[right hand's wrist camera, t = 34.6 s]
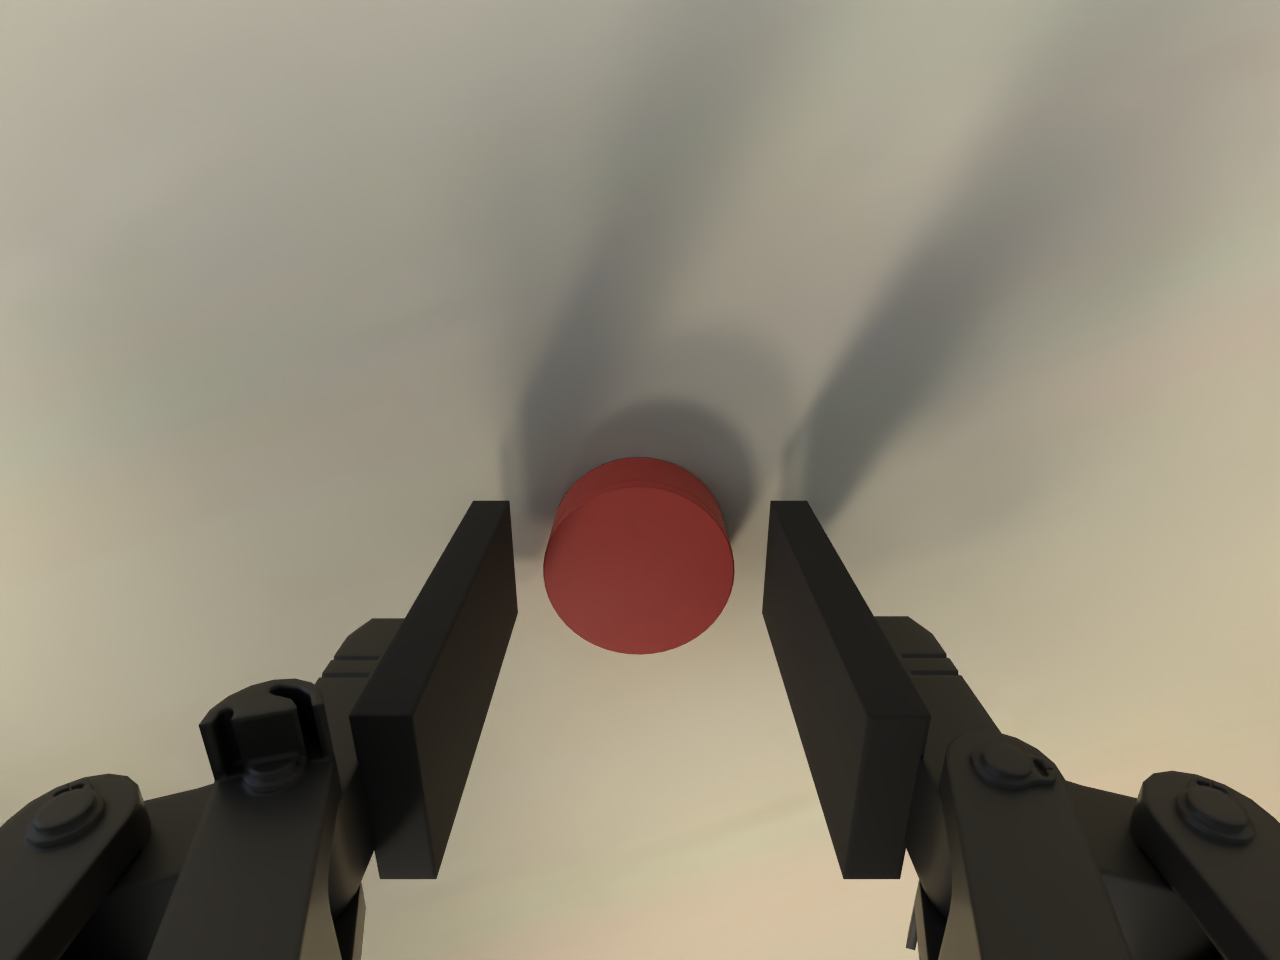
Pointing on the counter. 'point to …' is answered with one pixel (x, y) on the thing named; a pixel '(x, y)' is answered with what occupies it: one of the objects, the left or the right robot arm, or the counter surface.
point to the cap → (638, 557)
